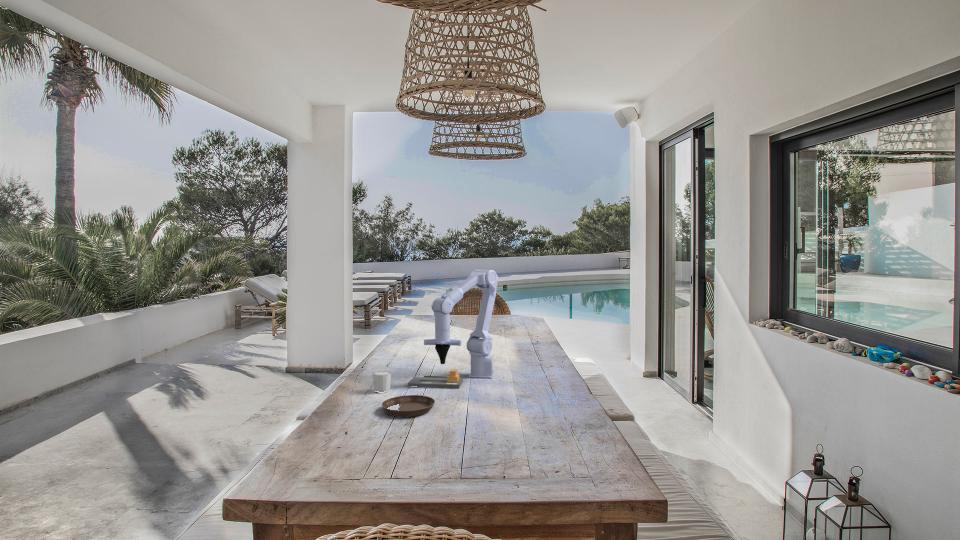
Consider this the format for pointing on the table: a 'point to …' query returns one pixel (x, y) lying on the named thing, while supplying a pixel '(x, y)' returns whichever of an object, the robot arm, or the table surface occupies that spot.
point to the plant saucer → (409, 405)
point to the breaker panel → (434, 382)
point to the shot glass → (382, 381)
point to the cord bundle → (436, 376)
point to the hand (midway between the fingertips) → (442, 363)
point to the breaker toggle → (453, 376)
